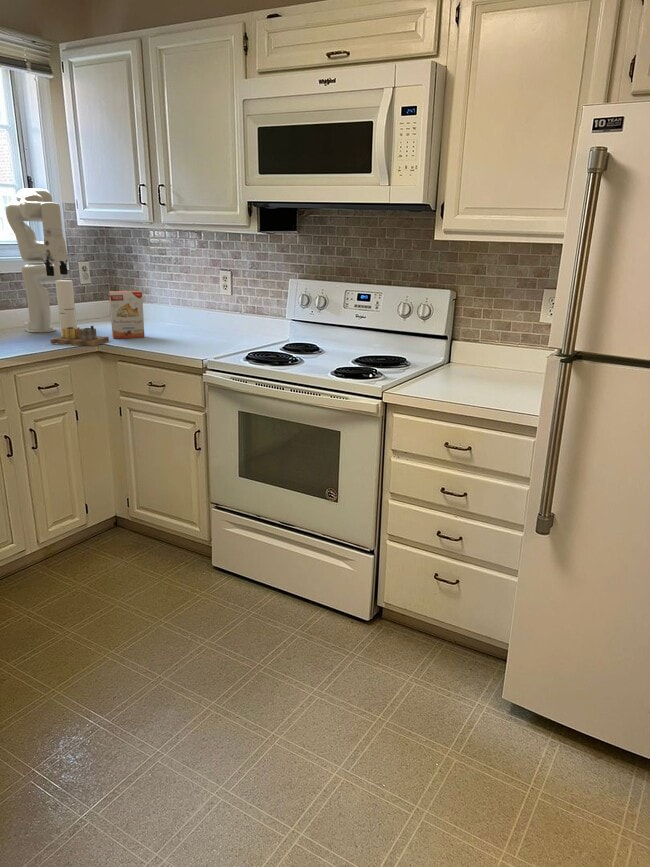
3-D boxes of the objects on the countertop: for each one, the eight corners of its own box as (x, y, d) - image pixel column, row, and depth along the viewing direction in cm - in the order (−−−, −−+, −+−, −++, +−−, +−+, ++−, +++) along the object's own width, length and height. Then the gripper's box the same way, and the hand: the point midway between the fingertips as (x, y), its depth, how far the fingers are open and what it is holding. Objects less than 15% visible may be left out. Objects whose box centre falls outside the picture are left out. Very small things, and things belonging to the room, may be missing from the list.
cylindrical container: (77, 337, 295) (71, 281, 288) (60, 337, 293) (54, 281, 285) (78, 334, 302) (72, 280, 294) (61, 335, 299) (55, 280, 292)
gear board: (50, 343, 277) (48, 326, 275) (68, 339, 289) (66, 322, 287) (93, 346, 274) (91, 328, 271) (108, 341, 286) (107, 324, 284)
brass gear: (59, 338, 279) (58, 329, 278) (68, 335, 286) (67, 326, 285) (74, 339, 278) (73, 329, 277) (83, 336, 284) (82, 327, 283)
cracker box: (113, 339, 292) (109, 292, 285) (112, 337, 297) (108, 290, 291) (145, 337, 297) (142, 291, 291) (143, 335, 302) (140, 290, 296)
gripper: (48, 233, 263) (53, 276, 268) (72, 233, 279) (76, 274, 284) (32, 233, 264) (37, 276, 269) (57, 233, 280) (61, 273, 285)
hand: (57, 275), depth 277 cm, fingers open, 9 cm apart
